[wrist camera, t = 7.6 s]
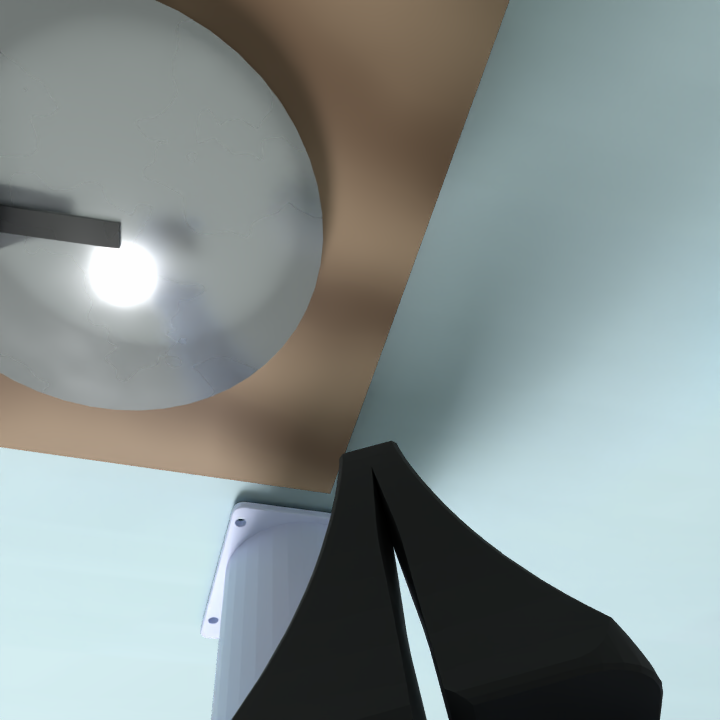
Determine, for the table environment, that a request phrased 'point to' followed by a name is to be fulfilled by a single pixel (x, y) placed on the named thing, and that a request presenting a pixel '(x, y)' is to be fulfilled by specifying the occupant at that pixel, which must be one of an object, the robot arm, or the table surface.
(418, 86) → the plate
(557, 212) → the table surface
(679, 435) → the table surface
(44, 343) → the dial
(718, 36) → the table surface
